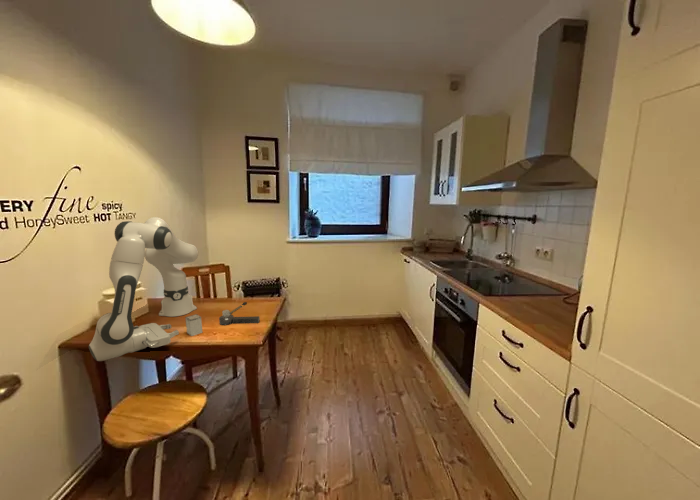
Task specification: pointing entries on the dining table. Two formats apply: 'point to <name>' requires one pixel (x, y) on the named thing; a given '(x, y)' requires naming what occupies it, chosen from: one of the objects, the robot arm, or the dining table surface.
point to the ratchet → (236, 319)
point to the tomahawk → (237, 308)
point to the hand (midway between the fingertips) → (174, 328)
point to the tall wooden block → (193, 325)
